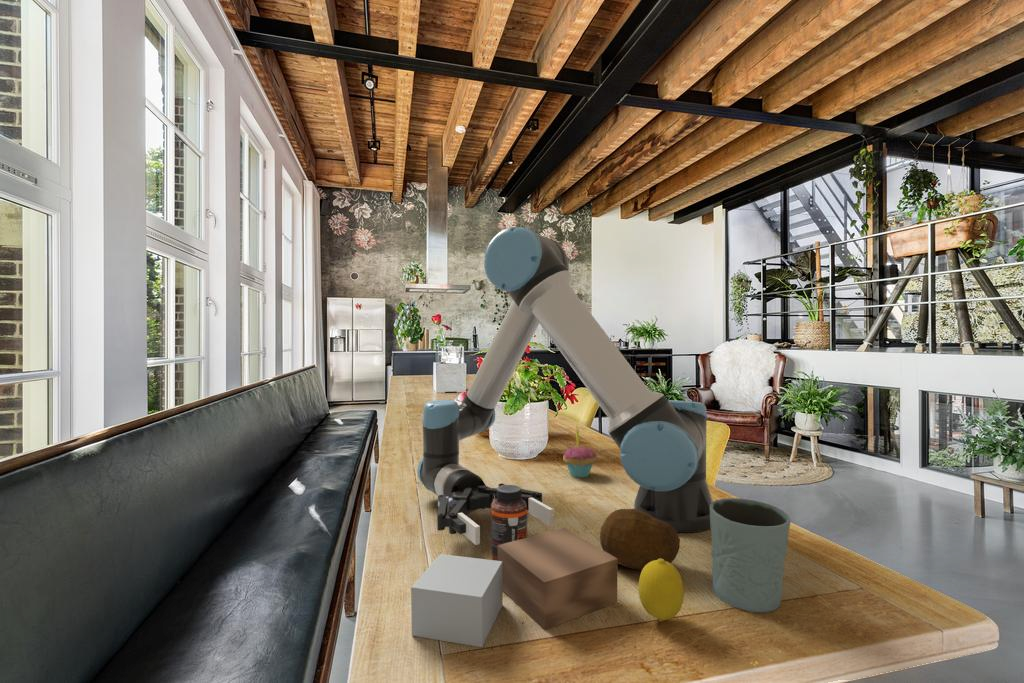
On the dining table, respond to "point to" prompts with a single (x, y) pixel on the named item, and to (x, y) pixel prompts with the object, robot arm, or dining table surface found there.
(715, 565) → the grey green planter pot
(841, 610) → the dining table surface
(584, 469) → the cupcake
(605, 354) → the robot arm
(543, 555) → the walnut block
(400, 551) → the dining table surface
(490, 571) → the grey block
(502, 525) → the supplement bottle
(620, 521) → the potato
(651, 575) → the lemon
